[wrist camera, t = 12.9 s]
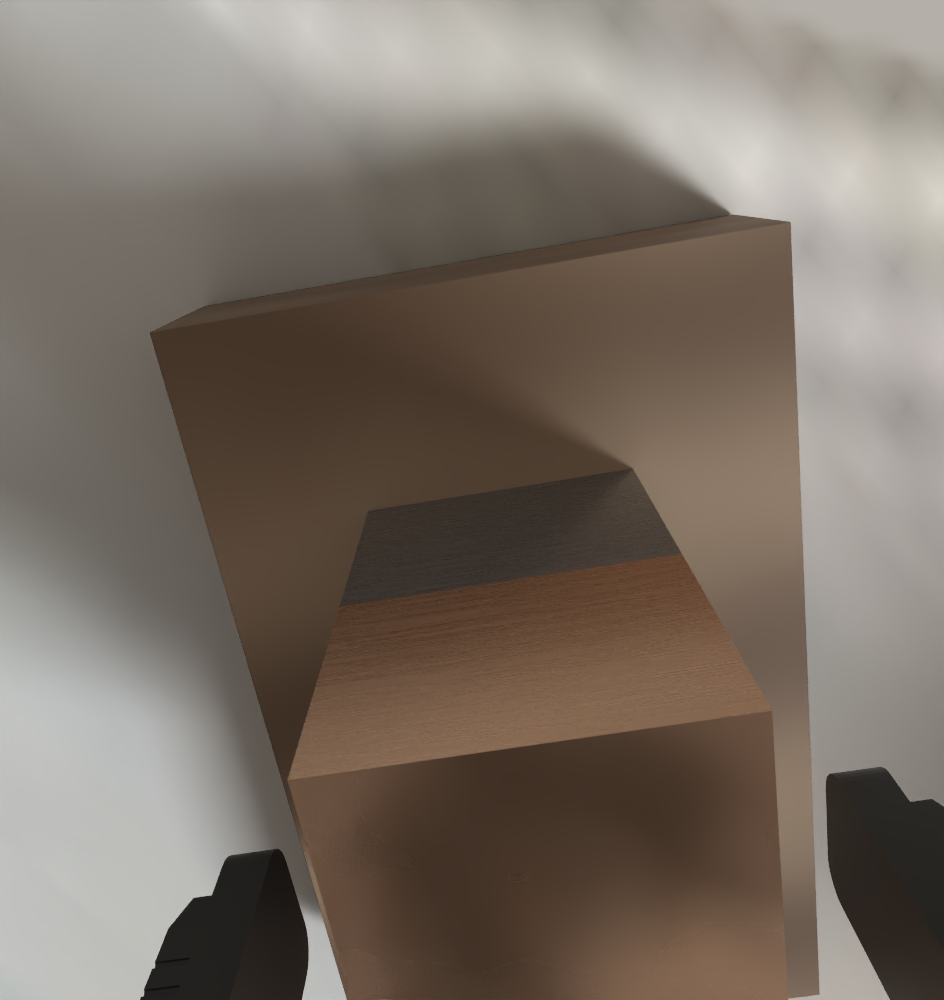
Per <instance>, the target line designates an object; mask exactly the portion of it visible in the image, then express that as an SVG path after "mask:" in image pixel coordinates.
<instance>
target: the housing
mask: <svg viewBox="0 0 944 1000" xmlns="http://www.w3.org/2000/svg"><path fill="white" fill-rule="evenodd" d="M287 781H288V784H289V787H290V791H291V794H292V798H293V801H294V804H295V808H296V811H297V815H298V818H299V821H300V825H301V828H302V832H303V835H304V838H305V842H306V845H307V849H308V852H309V855H310V859H311V862H312V866H313V869H314V873H315V876H316V879H317V883H318V886H319V890H320V893H321V896H322V900H323V903H324V907H325V910H326V913H327V917H328V920H329V924H330V927H331V930H332V934H333V937H334V941H335V944H336V947H337V951H338V954H339V958H340V961H341V964H342V968H343V971H344V975H345V978H346V981H347V985H348V988H349V992H350V995H351V998H352V1000H788V987H787V969H786V951H785V933H784V915H783V897H782V879H781V861H780V843H779V825H778V807H777V789H776V771H775V753H774V735H773V717H772V710H771V708H770V706H769V704H768V703H767V701H766V699H765V697H764V696H763V694H762V692H761V690H760V689H759V687H758V685H757V683H756V682H755V680H754V678H753V676H752V675H751V673H750V671H749V669H748V668H747V666H746V664H745V663H744V661H743V659H742V657H741V656H740V654H739V652H738V650H737V649H736V647H735V645H734V643H733V642H732V640H731V638H730V636H729V635H728V633H727V631H726V629H725V628H724V626H723V624H722V623H721V621H720V619H719V617H718V616H717V614H716V612H715V610H714V609H713V607H712V605H711V603H710V602H709V600H708V598H707V596H706V595H705V593H704V591H703V589H702V588H701V586H700V584H699V582H698V581H697V579H696V577H695V576H694V574H693V572H692V570H691V569H690V567H689V565H688V563H687V562H686V560H685V558H684V556H683V555H682V553H681V551H680V549H679V548H678V546H677V544H676V542H675V541H674V539H673V537H672V536H671V534H670V532H669V530H668V529H667V527H666V525H665V523H664V522H663V520H662V518H661V516H660V515H659V513H658V511H657V509H656V508H655V506H654V504H653V502H652V501H651V499H650V497H649V495H648V494H647V492H646V490H645V489H644V487H643V485H642V483H641V482H640V480H639V478H638V476H637V475H636V473H635V471H634V469H627V470H621V471H615V472H608V473H602V474H596V475H590V476H583V477H577V478H571V479H565V480H558V481H552V482H546V483H540V484H533V485H527V486H521V487H515V488H508V489H502V490H496V491H490V492H483V493H477V494H471V495H465V496H458V497H452V498H446V499H440V500H433V501H427V502H421V503H414V504H408V505H402V506H396V507H389V508H383V509H377V510H371V511H368V513H367V516H366V520H365V523H364V526H363V530H362V533H361V536H360V540H359V543H358V546H357V550H356V553H355V556H354V560H353V563H352V566H351V570H350V573H349V576H348V580H347V583H346V586H345V590H344V593H343V596H342V600H341V603H340V606H339V610H338V613H337V616H336V620H335V623H334V626H333V630H332V633H331V636H330V640H329V643H328V647H327V650H326V653H325V657H324V660H323V663H322V667H321V670H320V673H319V677H318V680H317V683H316V687H315V690H314V693H313V697H312V700H311V703H310V707H309V710H308V713H307V717H306V720H305V723H304V727H303V730H302V733H301V737H300V740H299V743H298V747H297V750H296V753H295V757H294V760H293V763H292V767H291V770H290V773H289V777H288V780H287Z"/></svg>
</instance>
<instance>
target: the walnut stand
mask: <svg viewBox="0 0 944 1000" xmlns="http://www.w3.org/2000/svg"><path fill="white" fill-rule="evenodd" d="M150 335H151V338H152V342H153V345H154V349H155V352H156V355H157V359H158V362H159V366H160V369H161V372H162V376H163V379H164V382H165V386H166V389H167V393H168V396H169V399H170V403H171V406H172V409H173V413H174V416H175V420H176V423H177V426H178V430H179V433H180V437H181V440H182V443H183V447H184V450H185V453H186V457H187V460H188V464H189V467H190V470H191V474H192V477H193V480H194V484H195V487H196V491H197V494H198V497H199V501H200V504H201V508H202V511H203V514H204V518H205V521H206V524H207V528H208V531H209V535H210V538H211V541H212V545H213V548H214V551H215V555H216V558H217V562H218V565H219V568H220V572H221V575H222V579H223V582H224V585H225V589H226V592H227V595H228V599H229V602H230V606H231V609H232V612H233V616H234V619H235V623H236V626H237V629H238V633H239V636H240V639H241V643H242V646H243V650H244V653H245V656H246V660H247V663H248V666H249V670H250V673H251V677H252V680H253V683H254V687H255V690H256V694H257V697H258V700H259V704H260V707H261V710H262V714H263V717H264V721H265V724H266V727H267V731H268V734H269V737H270V741H271V744H272V748H273V751H274V754H275V758H276V761H277V765H278V768H279V771H280V775H281V778H282V781H283V785H284V788H285V792H286V795H287V798H288V802H289V805H290V808H291V812H292V815H293V819H294V822H295V825H296V829H297V832H298V836H299V839H300V842H301V846H302V849H303V852H304V856H305V859H306V863H307V866H308V869H309V873H310V876H311V879H312V883H313V886H314V890H315V893H316V896H317V900H318V903H319V907H320V910H321V913H322V917H323V920H324V923H325V927H326V930H327V934H328V937H329V940H330V944H331V947H332V950H333V954H334V957H335V961H336V964H337V967H338V971H339V974H340V978H341V981H342V984H343V988H344V991H345V994H346V998H347V1000H352V998H351V995H350V992H349V988H348V985H347V981H346V978H345V975H344V971H343V968H342V964H341V961H340V958H339V954H338V951H337V947H336V944H335V941H334V937H333V934H332V930H331V927H330V924H329V920H328V917H327V913H326V910H325V907H324V903H323V900H322V896H321V893H320V890H319V886H318V883H317V879H316V876H315V873H314V869H313V866H312V862H311V859H310V855H309V852H308V849H307V845H306V842H305V838H304V835H303V832H302V828H301V825H300V821H299V818H298V815H297V811H296V808H295V804H294V801H293V798H292V794H291V791H290V787H289V784H288V781H287V780H288V777H289V773H290V770H291V767H292V763H293V760H294V757H295V753H296V750H297V747H298V743H299V740H300V737H301V733H302V730H303V727H304V723H305V720H306V717H307V713H308V710H309V707H310V703H311V700H312V697H313V693H314V690H315V687H316V683H317V680H318V677H319V673H320V670H321V667H322V663H323V660H324V657H325V653H326V650H327V647H328V643H329V640H330V636H331V633H332V630H333V626H334V623H335V620H336V616H337V613H338V610H339V606H340V603H341V600H342V596H343V593H344V590H345V586H346V583H347V580H348V576H349V573H350V570H351V566H352V563H353V560H354V556H355V553H356V550H357V546H358V543H359V540H360V536H361V533H362V530H363V526H364V523H365V520H366V516H367V513H368V511H371V510H377V509H383V508H389V507H396V506H402V505H408V504H414V503H421V502H427V501H433V500H440V499H446V498H452V497H458V496H465V495H471V494H477V493H483V492H490V491H496V490H502V489H508V488H515V487H521V486H527V485H533V484H540V483H546V482H552V481H558V480H565V479H571V478H577V477H583V476H590V475H596V474H602V473H608V472H615V471H621V470H627V469H634V471H635V473H636V475H637V476H638V478H639V480H640V482H641V483H642V485H643V487H644V489H645V490H646V492H647V494H648V495H649V497H650V499H651V501H652V502H653V504H654V506H655V508H656V509H657V511H658V513H659V515H660V516H661V518H662V520H663V522H664V523H665V525H666V527H667V529H668V530H669V532H670V534H671V536H672V537H673V539H674V541H675V542H676V544H677V546H678V548H679V549H680V551H681V553H682V555H683V556H684V558H685V560H686V562H687V563H688V565H689V567H690V569H691V570H692V572H693V574H694V576H695V577H696V579H697V581H698V582H699V584H700V586H701V588H702V589H703V591H704V593H705V595H706V596H707V598H708V600H709V602H710V603H711V605H712V607H713V609H714V610H715V612H716V614H717V616H718V617H719V619H720V621H721V623H722V624H723V626H724V628H725V629H726V631H727V633H728V635H729V636H730V638H731V640H732V642H733V643H734V645H735V647H736V649H737V650H738V652H739V654H740V656H741V657H742V659H743V661H744V663H745V664H746V666H747V668H748V669H749V671H750V673H751V675H752V676H753V678H754V680H755V682H756V683H757V685H758V687H759V689H760V690H761V692H762V694H763V696H764V697H765V699H766V701H767V703H768V704H769V706H770V708H771V710H772V717H773V735H774V753H775V771H776V789H777V807H778V825H779V843H780V861H781V879H782V897H783V915H784V933H785V951H786V969H787V987H788V998H796V997H804V996H812V995H819V970H818V943H817V917H816V890H815V863H814V836H813V810H812V783H811V756H810V730H809V703H808V676H807V650H806V623H805V596H804V570H803V543H802V516H801V490H800V463H799V436H798V410H797V383H796V356H795V330H794V303H793V276H792V250H791V223H790V222H786V221H778V220H770V219H763V218H755V217H747V216H740V215H728V216H722V217H717V218H711V219H705V220H699V221H694V222H688V223H682V224H676V225H671V226H665V227H659V228H653V229H648V230H642V231H636V232H630V233H625V234H619V235H613V236H607V237H602V238H596V239H590V240H584V241H579V242H573V243H567V244H561V245H556V246H550V247H544V248H538V249H532V250H527V251H521V252H515V253H509V254H504V255H498V256H492V257H486V258H481V259H475V260H469V261H463V262H458V263H452V264H446V265H440V266H435V267H429V268H423V269H417V270H412V271H406V272H400V273H394V274H389V275H383V276H377V277H371V278H366V279H360V280H354V281H348V282H343V283H337V284H331V285H325V286H319V287H314V288H308V289H302V290H296V291H291V292H285V293H279V294H273V295H268V296H262V297H256V298H250V299H245V300H239V301H233V302H227V303H222V304H216V305H210V306H204V307H202V308H200V309H198V310H196V311H194V312H192V313H190V314H188V315H186V316H184V317H181V318H179V319H177V320H175V321H173V322H171V323H169V324H167V325H165V326H163V327H161V328H159V329H156V330H154V331H152V332H150Z"/></svg>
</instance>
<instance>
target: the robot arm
mask: <svg viewBox="0 0 944 1000" xmlns="http://www.w3.org/2000/svg"><path fill="white" fill-rule="evenodd" d="M826 805H827V838H828V861H829V867H830V872H831V877H832V881H833V884H834V887H835V890H836V893H837V896H838V898H839V901H840V903H841V905H842V907H843V909H844V911H845V913H846V915H847V917H848V919H849V921H850V923H851V925H852V927H853V929H854V931H855V933H856V934H857V936H858V938H859V940H860V942H861V944H862V946H863V948H864V950H865V952H866V954H867V956H868V958H869V960H870V962H871V964H872V965H873V967H874V969H875V971H876V973H877V975H878V977H879V979H880V981H881V983H882V985H883V987H884V989H885V991H886V993H887V995H888V996H889V998H890V1000H944V807H943V806H941V805H940V804H939V803H937V802H936V801H934V800H933V799H929V800H922V801H915V802H910V801H909V800H908V799H907V797H906V796H905V794H904V793H903V791H902V790H901V789H900V787H899V786H898V784H897V783H896V782H895V780H894V779H893V777H892V776H891V775H890V773H889V772H888V771H887V770H886V769H884V768H883V767H877V768H869V769H862V770H855V771H848V772H841V773H833V774H829V775H828V776H827V780H826ZM307 970H308V937H307V930H306V926H305V922H304V919H303V916H302V912H301V909H300V906H299V902H298V899H297V896H296V893H295V889H294V886H293V883H292V880H291V876H290V873H289V870H288V867H287V863H286V860H285V857H284V855H283V853H282V852H281V851H280V850H279V849H274V850H266V851H259V852H252V853H245V854H238V855H231V856H228V857H227V858H226V860H225V861H224V864H223V866H222V869H221V872H220V875H219V877H218V880H217V883H216V886H215V889H214V891H213V894H212V896H205V897H198V898H193V900H192V901H191V902H190V903H189V904H188V906H187V907H186V908H185V909H184V910H183V912H182V913H181V914H180V915H179V917H178V918H177V919H176V920H175V921H174V923H173V924H172V925H171V926H170V927H169V929H168V931H167V934H166V936H165V939H164V941H163V944H162V946H161V949H160V951H159V954H158V956H157V959H156V961H155V969H152V971H151V974H150V976H149V979H148V981H147V984H146V986H145V989H144V997H141V999H140V1000H302V995H303V991H304V986H305V981H306V976H307Z"/></svg>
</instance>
